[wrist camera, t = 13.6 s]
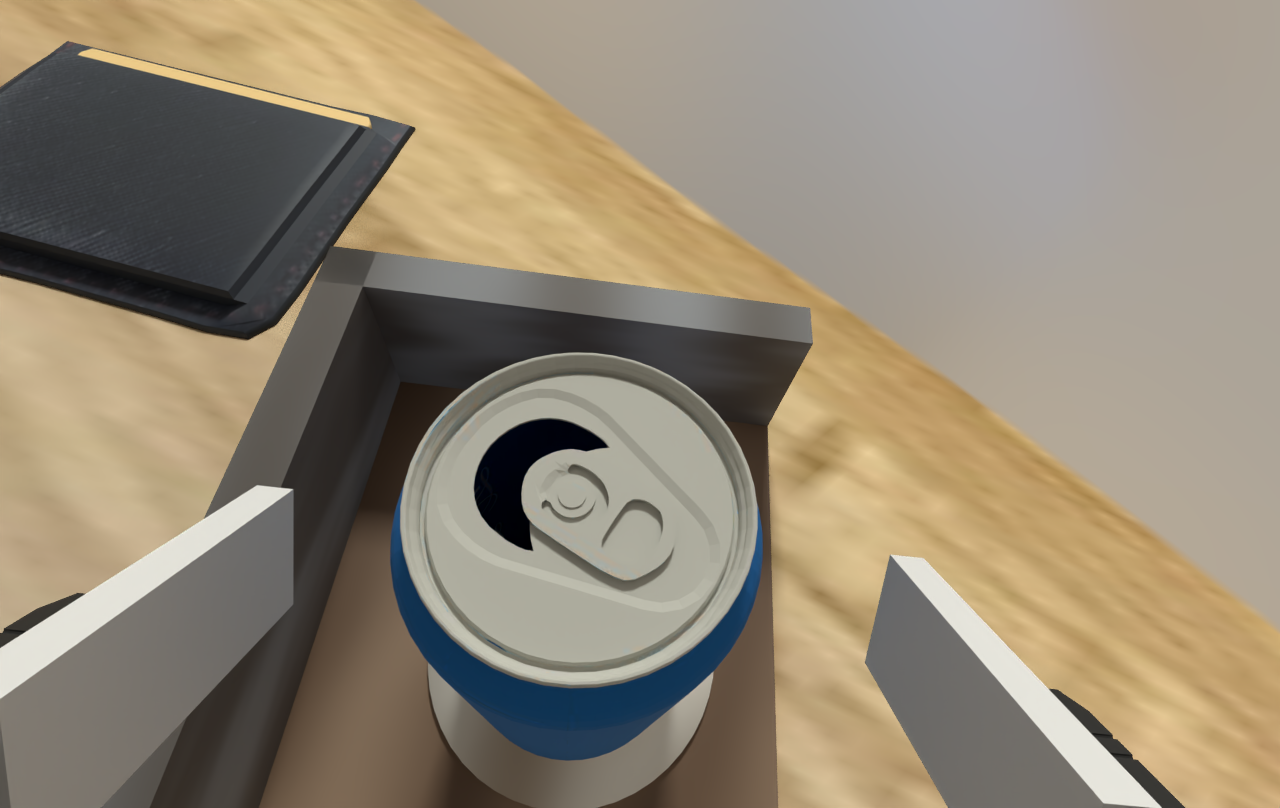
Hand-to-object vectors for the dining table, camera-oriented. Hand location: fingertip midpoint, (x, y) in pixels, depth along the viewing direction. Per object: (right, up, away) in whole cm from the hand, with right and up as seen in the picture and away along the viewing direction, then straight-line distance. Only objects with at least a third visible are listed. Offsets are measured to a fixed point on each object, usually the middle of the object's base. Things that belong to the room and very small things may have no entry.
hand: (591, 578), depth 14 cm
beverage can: (-1, -4, +6) cm, 8 cm away
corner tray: (-2, -2, +8) cm, 9 cm away
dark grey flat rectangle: (-22, +14, +17) cm, 31 cm away
